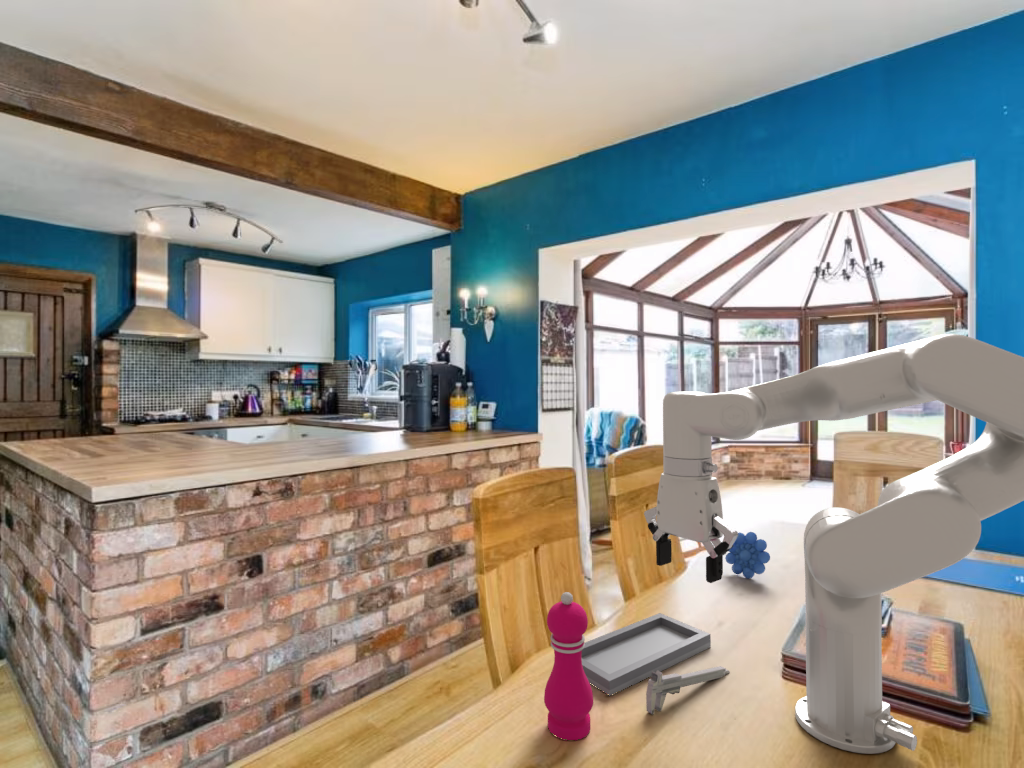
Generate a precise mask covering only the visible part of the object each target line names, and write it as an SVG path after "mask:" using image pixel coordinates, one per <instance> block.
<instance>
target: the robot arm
mask: <svg viewBox="0 0 1024 768" xmlns="http://www.w3.org/2000/svg"><path fill="white" fill-rule="evenodd" d="M935 401H936V402H937V401H939V402H941V403H943V404H945V405H947V406H949V407H950V408H951V407H952V408H953V409H956V410H958V411H960V412H962V413H965V414H967V415H969V416H972V417H974V418H976V419H978V420H981V421H983V422H985V426H984V429H983V431H982V433H981V434H980V436H979V437H978V438H977V439H976V440H975V441H974V442H973V443H972V444H970V445H968V446H967V447H964V448H963V449H962V450H960V451H958V452H956V453H954V454H952V455H950V456H948V457H946V458H944V459H942V460H940V461H938V462H936V463H935V462H934V463H933V464H931V465H929V466H926V467H924V468H922V469H920V470H918V471H916V472H915V471H914V472H913V473H911V474H908V475H906V476H903V477H901V478H899V479H897V480H894V481H892V482H891V483H889V484H888V485H886V486H885V488H883V490H882V491H881V493H880V495H879V496H878V500H877V506H875V507H873V508H870V509H869V510H865V511H864V512H862V513H858V512H857V511H855V510H852V509H849V508H846V507H845V508H844V507H837V506H836V507H827V508H825V509H821V510H820V511H818V512H816V513H815V514H814V515H813V516H811V518H810V519H809V520H808V522H807V524H806V526H805V529H804V533H803V554H804V578H805V580H804V583H805V584H804V585H805V586H804V587H805V588H804V589H805V613H804V614H805V672H806V673H805V674H806V675H805V676H806V677H805V679H806V681H805V682H806V685H805V688H806V692H805V693H806V696H803V697H801V698H800V699H798V700H797V702H796V703H795V707H794V708H795V709H794V712H795V719H796V720H797V723H798V724H799V725H800V726H801V728H802V729H803V730H805V731H806V733H808V734H809V735H811V736H812V737H814V738H815V739H817V740H819V741H820V742H823V743H824V744H828V746H831V747H834V748H836V749H837V748H838V749H840V750H843V751H846V752H847V751H848V752H851V753H857V754H868V755H869V754H870V755H871V754H881V753H884V752H888V751H890V750H891V749H893V748H894V746H895V745H896V744H897V745H899V746H901V747H903V748H906V749H907V750H911V751H913V752H914V751H915V750H916V748H917V744H918V737H917V735H916V734H913V732H914V727H913V725H911V724H908V723H906V722H903V721H900V720H898V719H895V718H894V715H891V705H890V703H888V702H886V701H883V669H882V668H883V660H882V659H883V658H882V657H883V653H882V642H883V641H882V629H883V627H882V626H883V619H882V617H883V616H882V615H883V613H882V593H885V592H888V591H890V590H894V589H896V588H898V587H901V586H903V585H907V584H909V583H911V582H914V581H917V580H919V579H922V578H924V577H928V576H929V575H932V574H934V573H936V572H939V571H941V570H944V569H947V568H949V567H950V566H953V565H955V564H956V563H959V562H961V560H963V559H965V558H967V556H968V555H970V554H971V553H972V552H973V551H974V549H976V547H977V546H978V543H979V541H980V539H981V536H982V535H981V534H982V523H981V522H982V521H984V520H986V519H987V518H990V517H992V516H995V515H996V514H999V513H1001V512H1003V511H1005V510H1007V509H1009V508H1012V507H1013V506H1015V505H1017V504H1019V503H1021V502H1024V356H1022V355H1018V354H1016V353H1013V352H1011V351H1008V350H1005V349H1003V348H1000V347H997V346H995V345H993V344H989V343H987V342H985V341H982V340H979V339H977V338H973V337H971V336H967V335H963V334H956V333H947V334H946V333H944V334H939V335H934V336H931V337H926V338H922V339H919V340H915V341H911V342H907V343H903V344H899V345H894V346H891V347H886V348H883V349H878V350H875V351H871V352H867V353H862V354H859V355H856V356H855V355H854V356H850V357H847V358H843V359H839V360H834V361H830V362H828V363H824V364H821V365H818V366H814V367H812V368H811V369H807V370H805V371H802V372H800V373H797V374H796V373H795V374H794V375H790V376H786V377H782V378H779V379H775V380H771V381H767V382H763V383H759V384H755V385H750V386H747V387H742V388H737V389H732V390H730V391H723V392H716V393H706V392H703V391H672V392H667V394H665V395H664V397H663V400H662V431H663V432H662V438H663V439H662V444H663V445H662V446H663V449H662V450H663V453H662V454H663V456H662V457H663V459H662V460H663V463H662V464H663V471H662V473H660V477H659V483H658V491H657V498H656V505H655V507H652V508H649V509H647V510H645V511H644V513H643V515H644V518H645V521H646V523H647V528H648V530H649V531H650V533H651V534H652V539H653V541H654V542H655V550H656V551H655V554H656V555H655V556H656V558H655V559H656V565H657V566H659V567H662V566H664V565H668V564H670V563H672V556H673V555H672V539H671V538H670V536H674V537H678V538H681V539H685V540H689V541H692V542H696V543H700V544H701V543H702V545H703V547H704V549H705V550H706V552H707V554H708V556H706V558H705V579H706V580H705V581H706V582H707V583H709V584H712V583H715V582H718V581H721V580H722V579H723V574H724V572H723V571H724V569H723V568H724V567H723V566H724V561H723V560H724V559H723V558H724V557H723V556H726V555H727V553H729V550H730V549H731V548H732V547H733V543H734V542H735V540H736V539H737V537H738V533H739V531H737V530H736V528H733V526H731V525H730V524H729V523H727V522H726V521H725V520H724V517H723V516H724V515H723V504H722V497H721V492H720V486H719V482H718V479H717V477H715V476H713V475H712V474H713V473H717V472H718V468H719V467H718V465H717V464H715V463H713V458H712V456H713V454H712V451H713V450H712V445H713V443H712V437H713V438H719V439H724V440H730V441H731V440H732V441H741V440H746V439H748V438H750V437H752V436H754V435H755V434H757V432H758V431H764V430H767V429H771V428H772V429H773V428H777V427H782V426H787V425H791V424H797V423H804V422H811V421H829V422H831V421H832V422H833V421H841V420H850V419H856V418H859V417H863V416H868V415H874V414H877V413H883V412H886V411H892V410H896V409H902V408H905V407H912V406H916V405H921V404H926V403H931V402H935ZM722 537H723V539H722V541H721V540H720V538H722Z"/></svg>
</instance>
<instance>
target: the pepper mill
mask: <svg viewBox="0 0 1024 768" xmlns="http://www.w3.org/2000/svg"><path fill="white" fill-rule="evenodd" d="M560 600H561V601H559V602H557V603H556V602H555V604H553V605H552V606H551V607H550V609H549V610H548V612H547V617H546V623H547V624H546V625H547V628H548V630H549V632H550V633H551V635H550V647H551V649H553V651H554V657H553V658H554V660H553V661H554V662H553V667H552V669H551V673H550V675H549V677H548V680H547V681H546V685H545V688H544V694H543V695H544V697H543V700H544V705H545V708H546V710H547V711H548V713H547V729H548V728H549V729H548V731H549V730H550V731H549V733H550V732H551V733H553V734H554V735H556V736H557V737H559V738H562V739H567V740H575V741H579V740H578V739H580V740H582V739H583V738H586V737H587V736H588V735H589V733H590V732H591V715H590V712H591V710H592V709H593V706H594V695H593V694H594V693H593V689H592V685H590V683H589V681H588V679H587V677H586V675H585V672H584V670H583V666H582V659H581V654H582V650H583V648H584V647H585V635H584V634H585V633H586V631H587V629H588V624H589V622H588V621H589V620H588V615H587V613H586V610H585V609H584V607H583V606H582V605H581V604H579V603H577V602H575V601H574V597H573V594H572V593H571V592H567V591H565V592H562V594H561V596H560ZM551 733H550V734H551ZM557 737H556V738H557ZM559 738H558V739H559ZM562 739H561V740H562ZM567 740H566V741H567Z"/></svg>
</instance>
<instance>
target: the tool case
mask: <svg viewBox="0 0 1024 768" xmlns="http://www.w3.org/2000/svg"><path fill="white" fill-rule="evenodd" d="M584 643H585V647H584V648H583V650H582V654H581V659H582V666H583V670H584V672H585V675H586V677H587V679H588V681H589V683H591V684H593V685H594V686H596V687H597V688H599V689H601V690H602V691H604V692H605V693H607V694H609V696H608V697H611V696H610V695H612V694H614V693H616V692H618V691H620V692H622V691H624V690H626V689H628V688H630V687H632V686H634V685H636V684H638V683H640V681H641V682H643V681H644V679H645V680H646V678H647V679H649V678H651V675H652V671H653V672H654V673H656V672H657V670H658V671H660V672H663V671H664V670H666V669H669V668H671V667H673V666H675V665H677V664H680V663H682V662H684V661H685V660H688V659H689V658H691V657H693V656H696V655H697V654H700V653H702V652H703V651H706V650H708V649H710V648H711V646H712V645H711V643H712V642H711V633H709V632H707V631H705V630H702V629H699V628H697V627H695V626H692V625H690V624H688V623H685V622H683V621H680V620H678V619H676V618H673V617H671V616H668V615H665V614H663V613H661V612H659V613H657V614H654V615H652V616H648V617H645V618H643V619H641V620H639V621H636V622H634V623H631V624H628V625H626V626H624V627H621V628H618V629H616V630H613V631H610V632H608V633H605V634H603V635H600V636H599V637H596V638H593V639H590V640H589V641H586V642H585V641H584ZM648 677H649V678H648ZM642 680H643V681H642ZM631 685H632V686H631ZM594 686H593V687H594ZM629 686H630V687H629ZM627 687H628V688H627ZM597 688H596V689H597ZM625 688H626V689H625ZM623 689H624V690H623ZM621 690H622V691H621ZM602 691H601V692H602ZM605 693H604V694H605ZM618 693H619V692H618ZM616 694H617V693H616ZM614 695H615V694H614ZM612 696H613V695H612Z"/></svg>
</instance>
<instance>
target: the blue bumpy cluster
mask: <svg viewBox="0 0 1024 768" xmlns="http://www.w3.org/2000/svg"><path fill="white" fill-rule="evenodd" d="M767 546H768V543H767V541H766V540H764V539H762V538H760V539H759V538H758V536H757V533H755V532H752V531H749V532H747V533H746V534H744V533H742V532H739V531H738V537H737V539H736V540H735V542H734V543H733V547H732V548H731V549H730V550H729V551H728V552H727V553H726V554H725V562H726V563H727V564H729V565H731V570H732V573H733V574H735V575H741V574H742V576H743V577H744V578H745V579H752V578H753V577H754V576H755V574H757V575H762V574H763V573H764V572H765V571H766V566H765V564H767V563H769V562H770V560H771V556H770V553H769V552H768V551H765V550H766V549H767Z"/></svg>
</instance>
